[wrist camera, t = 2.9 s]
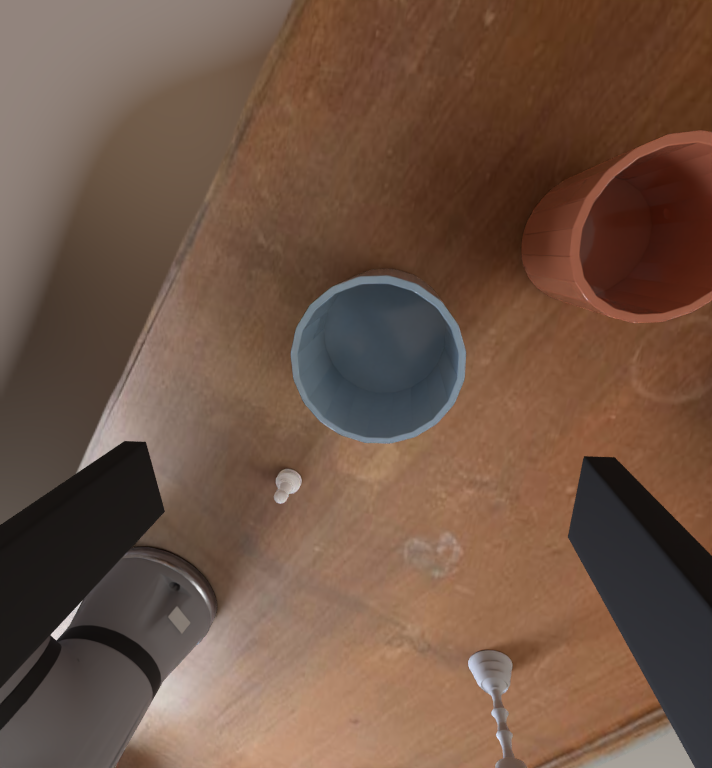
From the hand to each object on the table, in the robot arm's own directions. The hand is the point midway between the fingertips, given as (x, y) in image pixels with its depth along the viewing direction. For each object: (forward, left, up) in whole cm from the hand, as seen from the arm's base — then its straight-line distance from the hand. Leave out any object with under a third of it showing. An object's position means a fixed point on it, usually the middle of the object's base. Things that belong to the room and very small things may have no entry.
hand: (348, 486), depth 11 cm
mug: (+16, +7, -22) cm, 28 cm away
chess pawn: (-10, -15, -22) cm, 28 cm away
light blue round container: (0, 0, -22) cm, 22 cm away
